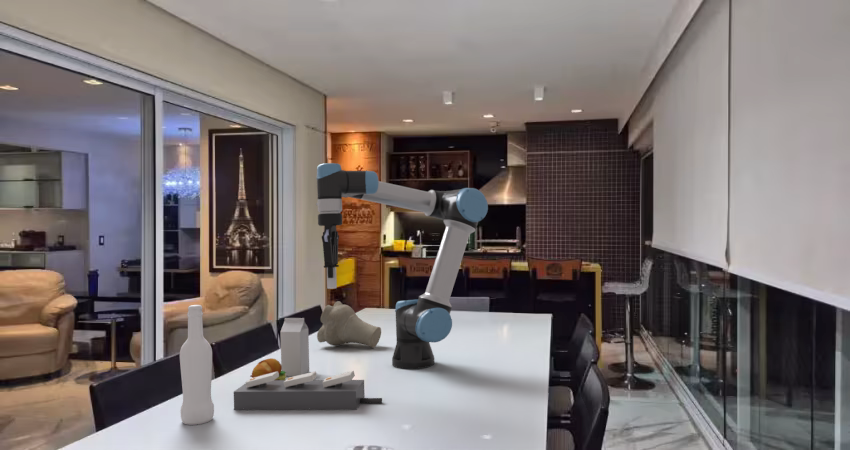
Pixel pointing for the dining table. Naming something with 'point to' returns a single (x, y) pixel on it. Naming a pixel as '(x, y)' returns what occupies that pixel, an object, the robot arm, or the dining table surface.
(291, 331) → the milk carton
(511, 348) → the dining table surface
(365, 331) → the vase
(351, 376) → the rocker
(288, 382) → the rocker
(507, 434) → the dining table surface
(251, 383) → the rocker
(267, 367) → the cheeseburger
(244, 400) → the power strip
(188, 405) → the bottle
